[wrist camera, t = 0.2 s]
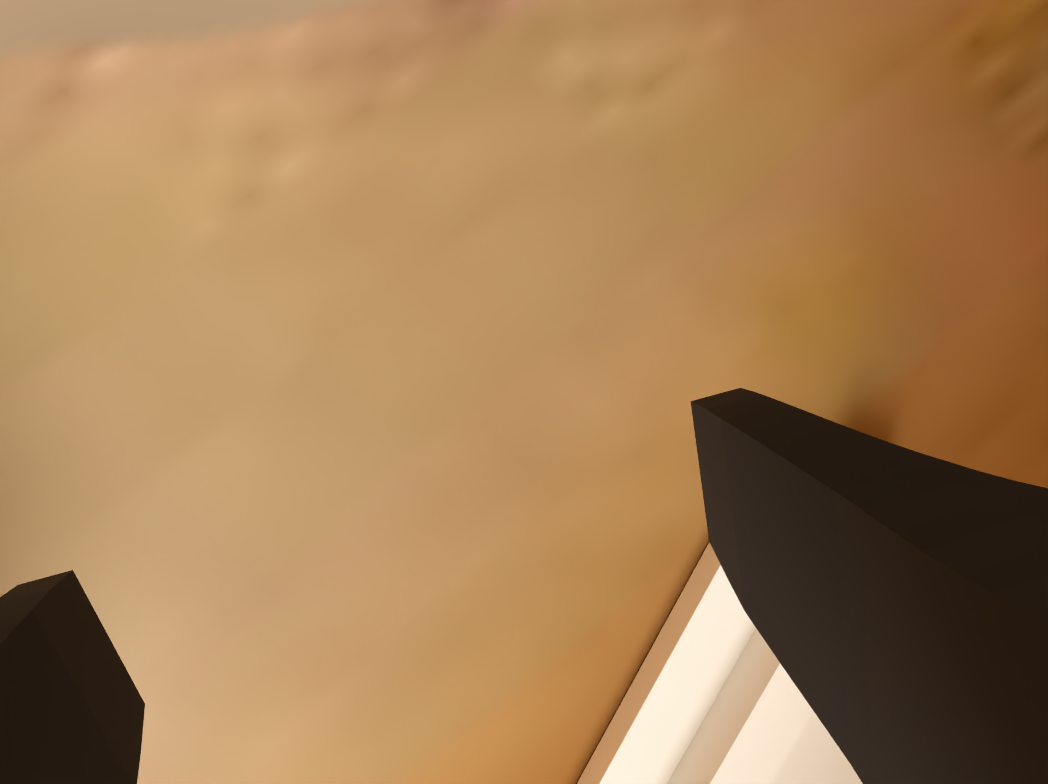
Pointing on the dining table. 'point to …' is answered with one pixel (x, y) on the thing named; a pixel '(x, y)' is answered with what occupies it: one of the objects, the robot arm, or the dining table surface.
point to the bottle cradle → (714, 705)
